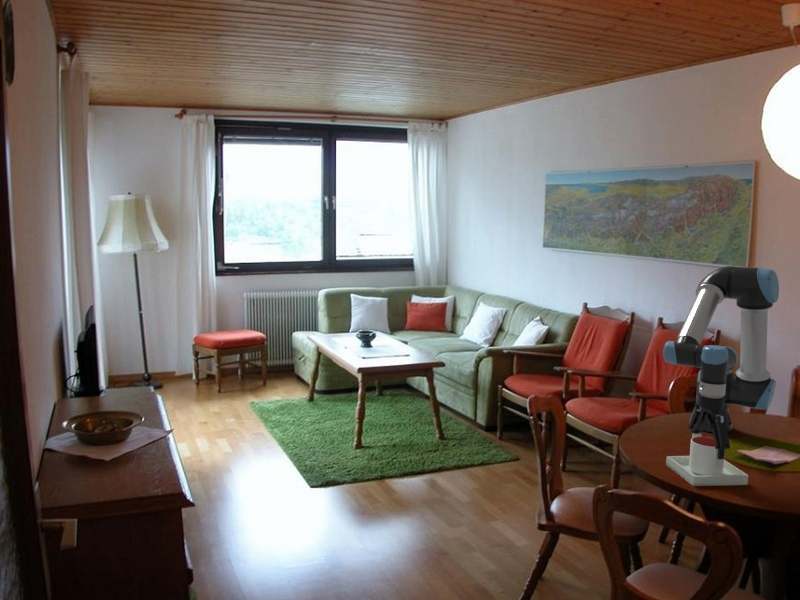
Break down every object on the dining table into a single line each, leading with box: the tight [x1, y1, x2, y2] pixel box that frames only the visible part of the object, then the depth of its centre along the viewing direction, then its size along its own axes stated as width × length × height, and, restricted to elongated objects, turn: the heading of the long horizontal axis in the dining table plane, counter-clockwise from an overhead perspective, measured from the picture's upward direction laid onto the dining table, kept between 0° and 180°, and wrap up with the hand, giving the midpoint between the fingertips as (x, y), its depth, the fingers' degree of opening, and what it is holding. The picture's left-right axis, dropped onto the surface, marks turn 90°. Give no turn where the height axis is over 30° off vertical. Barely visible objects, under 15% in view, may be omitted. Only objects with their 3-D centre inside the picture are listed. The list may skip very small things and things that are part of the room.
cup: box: [689, 436, 726, 476], centre depth 226 cm, size 10×10×10 cm
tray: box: [665, 455, 749, 487], centre depth 226 cm, size 18×18×3 cm
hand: (706, 460), depth 226 cm, fingers open, 13 cm apart
